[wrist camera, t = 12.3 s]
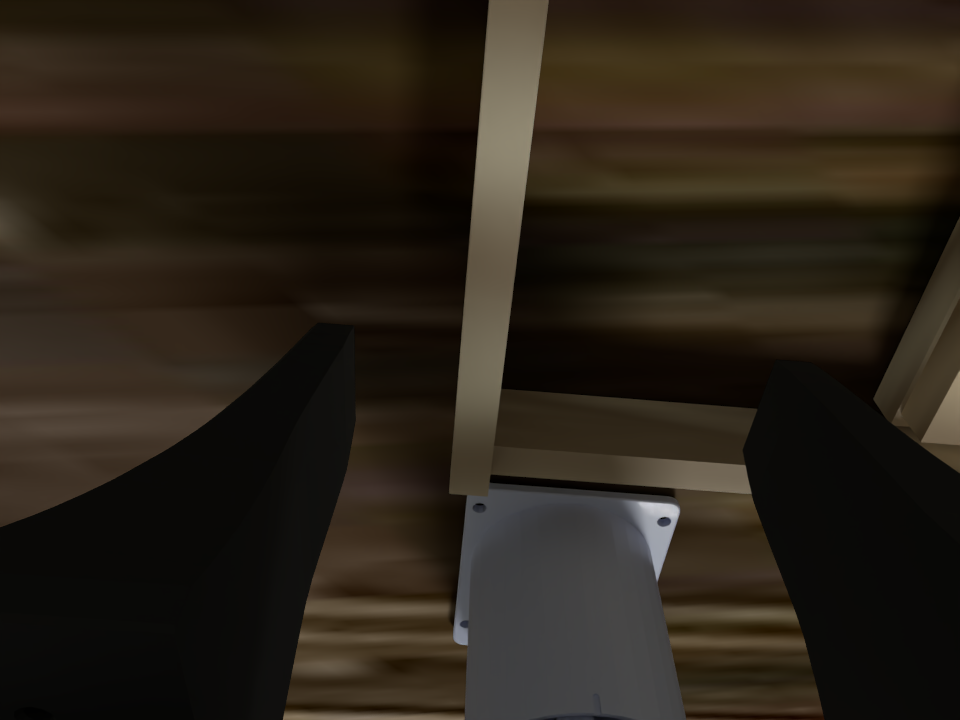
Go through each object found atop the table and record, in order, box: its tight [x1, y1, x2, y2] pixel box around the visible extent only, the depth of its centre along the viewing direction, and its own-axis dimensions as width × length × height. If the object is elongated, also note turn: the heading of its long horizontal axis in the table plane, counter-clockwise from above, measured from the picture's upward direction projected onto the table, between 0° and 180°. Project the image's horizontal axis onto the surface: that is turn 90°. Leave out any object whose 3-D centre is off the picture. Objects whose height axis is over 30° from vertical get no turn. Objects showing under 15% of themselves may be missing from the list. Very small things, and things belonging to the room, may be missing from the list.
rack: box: [449, 0, 960, 497], centre depth 21 cm, size 16×19×4 cm
